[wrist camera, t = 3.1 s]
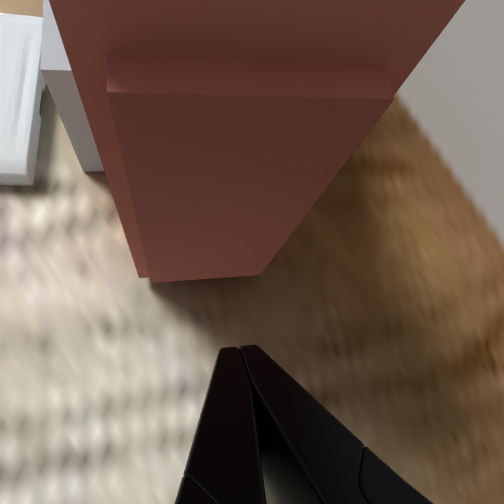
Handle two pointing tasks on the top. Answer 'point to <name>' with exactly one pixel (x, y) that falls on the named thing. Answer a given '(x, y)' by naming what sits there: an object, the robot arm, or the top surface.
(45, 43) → the socket block
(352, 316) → the top surface
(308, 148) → the pink rectangular block
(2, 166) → the external hard drive
